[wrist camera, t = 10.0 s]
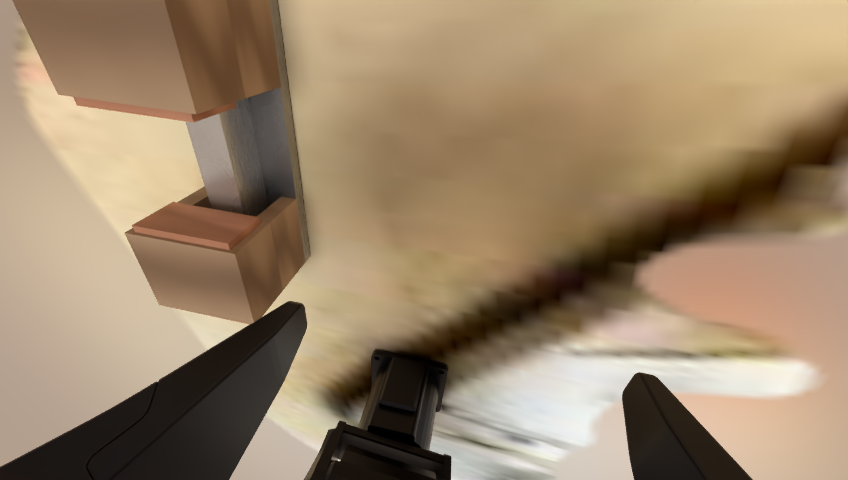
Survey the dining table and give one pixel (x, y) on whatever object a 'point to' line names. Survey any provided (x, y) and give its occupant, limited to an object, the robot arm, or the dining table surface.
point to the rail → (252, 149)
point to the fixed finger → (219, 256)
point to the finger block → (155, 53)
